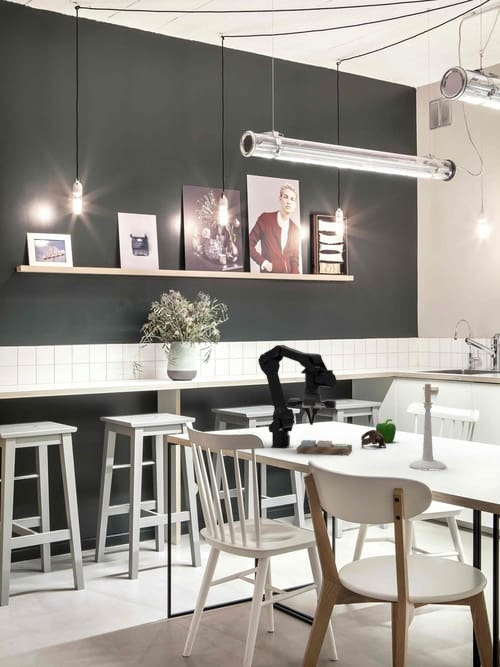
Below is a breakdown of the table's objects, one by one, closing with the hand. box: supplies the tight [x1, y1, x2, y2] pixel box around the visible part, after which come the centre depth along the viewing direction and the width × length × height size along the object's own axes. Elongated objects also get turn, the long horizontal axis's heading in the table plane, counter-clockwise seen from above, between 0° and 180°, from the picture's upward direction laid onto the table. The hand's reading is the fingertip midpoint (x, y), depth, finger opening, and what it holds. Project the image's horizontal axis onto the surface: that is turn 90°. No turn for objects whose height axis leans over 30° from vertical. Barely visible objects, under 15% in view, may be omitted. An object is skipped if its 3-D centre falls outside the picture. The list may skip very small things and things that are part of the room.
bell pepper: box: [375, 418, 397, 444], centre depth 367 cm, size 8×8×10 cm
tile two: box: [316, 440, 333, 447], centre depth 340 cm, size 5×5×2 cm
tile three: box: [334, 443, 349, 448], centre depth 338 cm, size 5×5×2 cm
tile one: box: [300, 439, 317, 447], centre depth 342 cm, size 5×5×2 cm
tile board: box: [296, 443, 353, 456], centre depth 340 cm, size 20×12×2 cm, turn 76°
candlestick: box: [408, 383, 447, 471], centre depth 305 cm, size 13×13×30 cm
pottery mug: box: [360, 429, 387, 449], centre depth 353 cm, size 12×10×8 cm
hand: (311, 424), depth 341 cm, fingers closed
